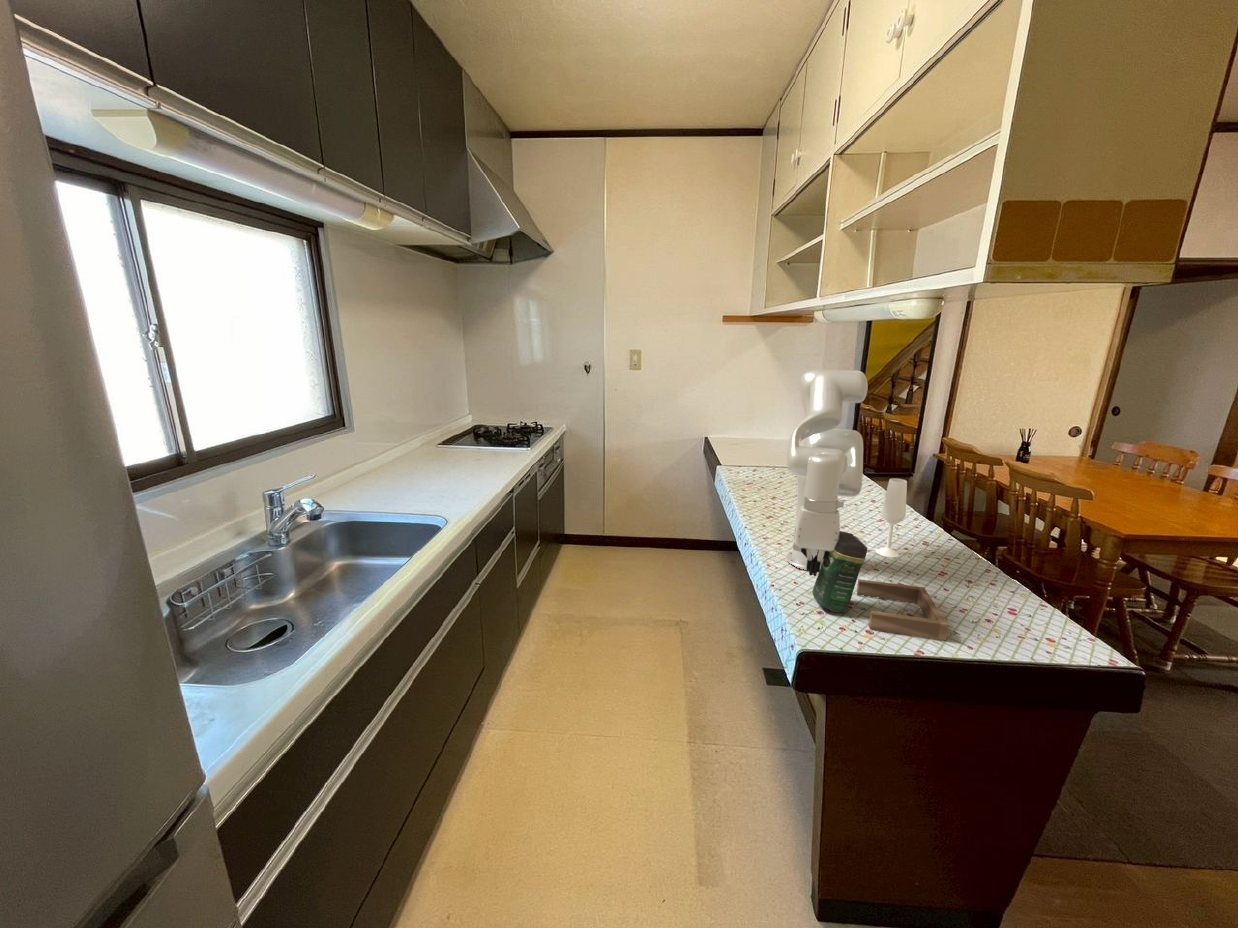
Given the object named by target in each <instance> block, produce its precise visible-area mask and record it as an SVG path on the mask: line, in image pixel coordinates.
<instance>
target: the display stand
mask: <svg viewBox="0 0 1238 928" xmlns="http://www.w3.org/2000/svg"><path fill="white" fill-rule="evenodd" d="M856 585H857V586H856V592H857V593H856V595H857V596H858V595H864V596H863V597H865V596H870V597H869V598H873V597H879V598H878V599H880V598H885V599H884V600H888V599H892V600H891V601H895V600H900V601H899V602H903V601H907V602H906V603H910V602H914V603H913V604H916V605H917V604H918V605H917V606H918V608H919V607H920V608H919V610H920V609H921V610H920V612H921V613H922V612H923V613H922V615H923V614H924V615H923V616H925V617H917V616H910V615H903V614H897V613H889V612H882V611H877V610H876V611H875V610H870V614H869V619H868V620H869V621H868V628H870V629H872V631H877V630H878V631H877V632H883V631H884V632H885V633H891V634H898V635H903V636H904V635H905V636H912V637H918V638H925V639H931V640H937V639H939V640H938V641H944V640H947V637H948V636H947V635H948V629H949V623H948V622H947V620H946V619H945V617H944V616H943V614H942V613H941V611H940V610H939V608H938V606H937V605H936V603H935V601H934V600H933V599H932V597H931V595H930V594H929V593H928V591H927V590H926V587H924V586H915V585H908V584H901V583H892V582H884V581H877V580H876V581H875V580H867V579H859V578H857V584H856ZM870 629H869V630H870Z"/></svg>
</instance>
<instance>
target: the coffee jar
mask: <svg viewBox="0 0 1238 928" xmlns="http://www.w3.org/2000/svg"><path fill="white" fill-rule="evenodd" d="M867 553H868V546H866V544H864V543H863V541H861V540H860V539H859V538H857V537H856V536H855V535H854V534H853V533H851V532H845V531H842V530H840V533H839V541H838V542H837V544H836V546H835V550H834V551H830V552H829V556H827V557H826V558H824V560H823V562H822V565H821V568H820V571H819V572H818V574H817V576H816V579H815V583H814V584H813V585H814V586H813V588H812V592H811V593H812V596H813V598H814V600H815V601H816V603H817V604H818V605H819V606H821V607H823V608H825V609H828V610H829V611H832V612H836V613H840V612H842V613H844V612H847V611H848V609H849V606H850V603H851V600H852V597H853V593H854V590H855V587H856V585H857V582H858V579H859V578H858V577H859V574H860V571H861V568H862V566H863V564H864V562H865V560H866V558H867Z"/></svg>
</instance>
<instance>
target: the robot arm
mask: <svg viewBox="0 0 1238 928" xmlns="http://www.w3.org/2000/svg"><path fill="white" fill-rule="evenodd" d="M799 390H800V391H799V393H800V398H801V403H802V407H803V409H804V412H805V417H804V418H803V419H802V420H801V421H800V422H799V423H798V424H797V425H795V427H794V428H793V429H792V431H791V433H790V437H789V440H788V444H787V454H786V468H787V470H788V472H790V473H791V474H792V475H796V490H797V491H796V492H797V494H796V495H797V496H796V511H795V518H794V519H795V521H794V527H793V528H794V529H793V541H792V548H791V551H790V552H788V553H787V554H786V556H785V560H786V562H787V561H788V562H789V563H790V564H789V563H788V562H787V563H788V564H789V565H791V564H792V565H794V566H795V567H794V566H793V567H794V568H796V567H797V569H799V568H800V570H803V569H804V570H803V571H808V575H809V576H813V577H817V575H818V574H817V573H819V571H820V568H821V565H822V562H823V560H824V558H826V557H827V556H829V552H830V551H834V550H835V546H836V544H837V542H838V541H839V533H840V531H841V530H840V529H841V523H840V517H841V516H840V511H839V510H838V509H839V508H844V506H845V505H844V504H845V503H844V501H841V500H839V497H847V498H850V497H851V498H852V497H856V496H858V495H859V494H861V491H862V487H863V479H864V476H863V475H864V473H863V472H864V439H863V436H862V434H861V433H860V432H859V431H857V430H853V429H844V428H837V427H838V426H840V425H841V423H842V420H843V403H847V404H848V403H851V404H852V403H853V404H860V403H862V402H864V400H866V397H867V394H868V380H867V376H866V375H865V372H862V371H861V370H855V369H854V370H852V369H848V370H847V369H812V370H808V371H806V372H804V373H803V374H802V375H801V378H800V383H799ZM803 440H804V441H803ZM802 441H803V442H804V445H802V446H801V445H800V444H801V442H802ZM792 565H791V566H792Z"/></svg>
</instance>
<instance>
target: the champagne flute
mask: <svg viewBox="0 0 1238 928" xmlns="http://www.w3.org/2000/svg"><path fill="white" fill-rule="evenodd" d="M887 483H888V484H887V486H886V487H887V488H886V492H885V496H884V498H883V503H882V507H881V511H880V515H881V516H882V519H883V520H885V521H886V523H887V524H889V525H888V526H889V527H888V532H887V537H886V546H884V547H881V548H880V547H879V548H878V549H877V548H876V549H875V553H876V554H878V555H880V556H883V557H886V558H887V557H888V558H898V557H900V554H899V552H897V551H896V550H895V549H893V548H892V547H891V546H892V540H893V534H894V533H893V531H894V526H895V525H897V524H900V523H901V522H902V521H903V520H904V519H905V518H906V517H907V516H906V515H907V514H906V512H907V511H906V510H907V489H908V481H907V480H906V479H903V478H895V477H894V478H889V479H888V482H887Z"/></svg>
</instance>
